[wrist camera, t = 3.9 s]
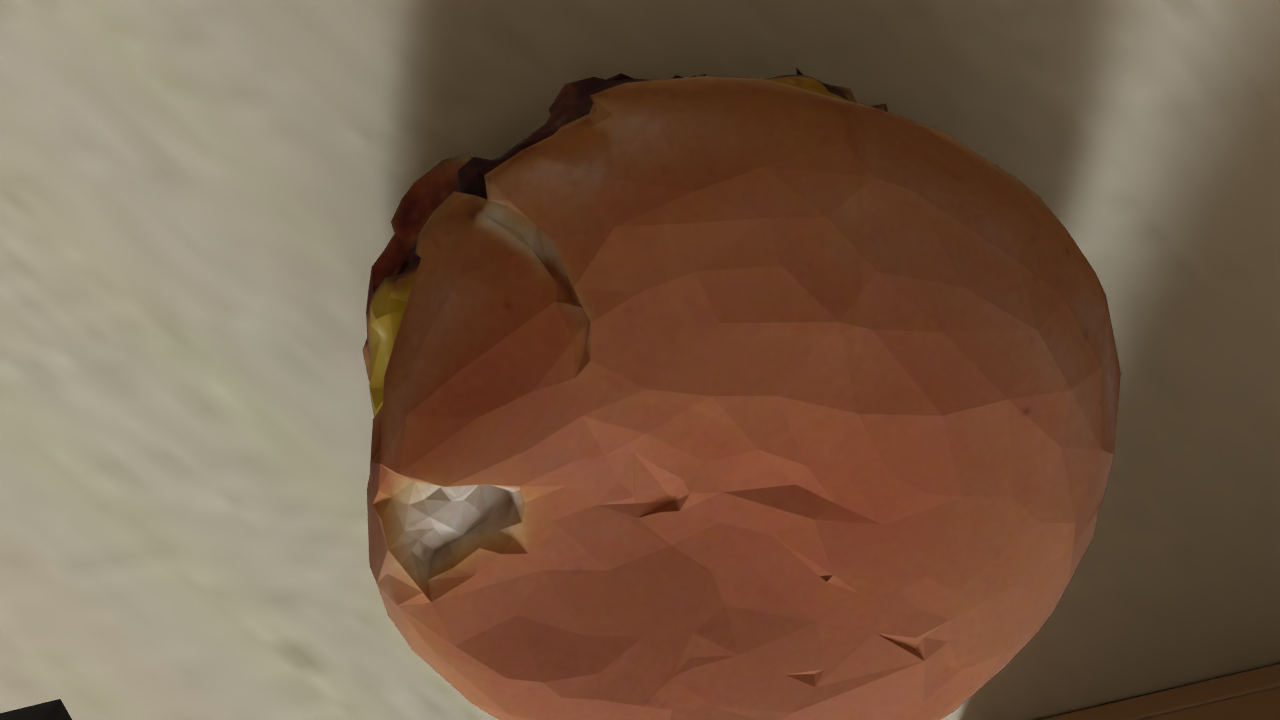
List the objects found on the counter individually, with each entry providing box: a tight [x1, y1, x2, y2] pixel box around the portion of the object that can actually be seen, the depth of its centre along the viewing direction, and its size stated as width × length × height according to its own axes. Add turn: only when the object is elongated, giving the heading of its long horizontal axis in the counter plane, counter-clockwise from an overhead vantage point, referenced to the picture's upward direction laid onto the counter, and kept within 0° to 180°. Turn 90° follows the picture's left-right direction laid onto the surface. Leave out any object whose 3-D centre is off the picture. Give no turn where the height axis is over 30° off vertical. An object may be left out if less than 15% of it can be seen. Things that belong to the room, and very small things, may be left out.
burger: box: [363, 68, 1121, 720], centre depth 14 cm, size 10×9×5 cm
